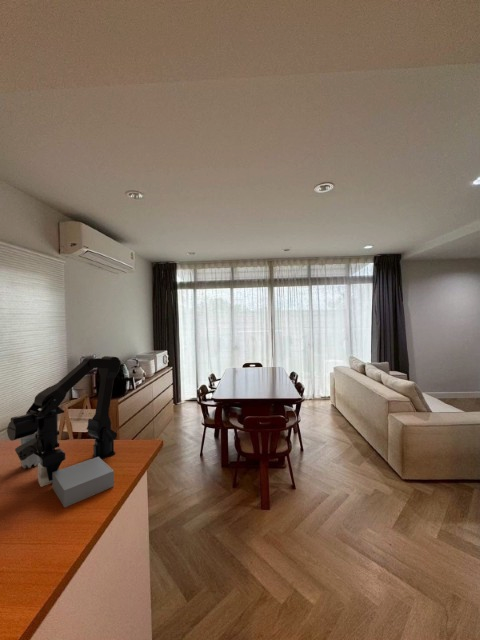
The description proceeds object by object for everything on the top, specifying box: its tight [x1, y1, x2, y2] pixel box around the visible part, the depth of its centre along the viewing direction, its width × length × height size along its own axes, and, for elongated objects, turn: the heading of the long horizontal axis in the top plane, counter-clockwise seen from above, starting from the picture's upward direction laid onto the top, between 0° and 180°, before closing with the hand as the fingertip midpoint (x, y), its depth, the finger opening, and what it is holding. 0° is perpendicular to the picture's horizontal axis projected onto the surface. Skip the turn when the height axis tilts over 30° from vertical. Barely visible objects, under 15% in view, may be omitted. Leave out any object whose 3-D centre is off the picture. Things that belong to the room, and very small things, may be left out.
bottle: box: [20, 413, 40, 469], centre depth 103 cm, size 7×7×20 cm
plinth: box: [52, 457, 115, 508], centre depth 89 cm, size 14×14×5 cm
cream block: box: [37, 462, 60, 488], centre depth 93 cm, size 5×5×6 cm
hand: (47, 475), depth 93 cm, fingers open, 8 cm apart
